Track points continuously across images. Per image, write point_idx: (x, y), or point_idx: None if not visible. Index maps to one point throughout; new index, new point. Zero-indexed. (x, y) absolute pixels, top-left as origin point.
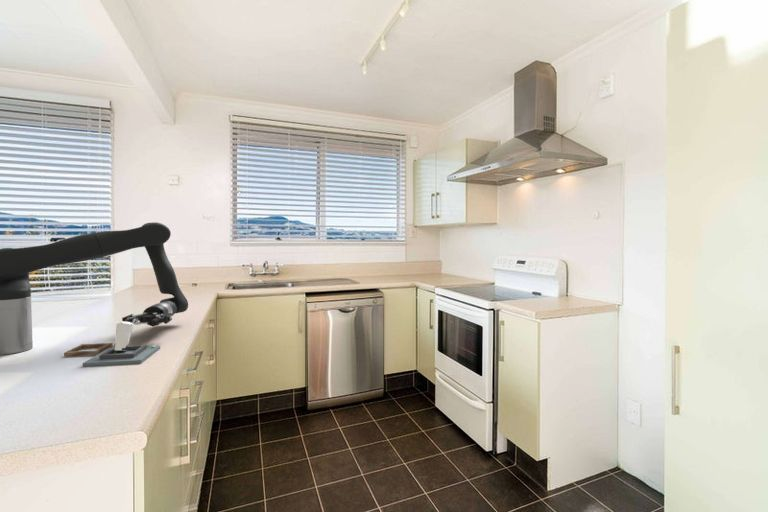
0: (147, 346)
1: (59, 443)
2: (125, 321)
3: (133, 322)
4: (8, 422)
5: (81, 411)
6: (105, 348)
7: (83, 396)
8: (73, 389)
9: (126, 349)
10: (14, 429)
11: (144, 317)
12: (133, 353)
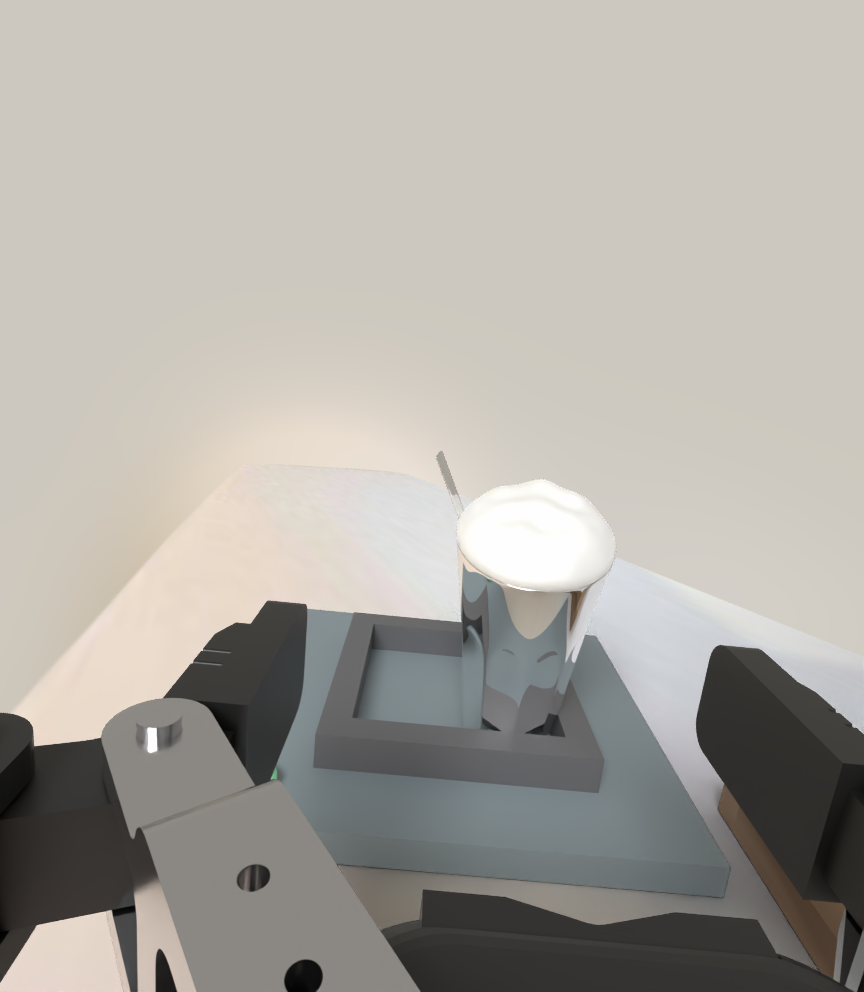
0: (322, 829)
1: (346, 469)
2: (718, 647)
3: (450, 495)
4: (473, 500)
5: (361, 495)
6: (808, 922)
7: (394, 520)
8: (449, 542)
9: (462, 711)
10: (442, 491)
11: (665, 935)
12: (358, 616)
